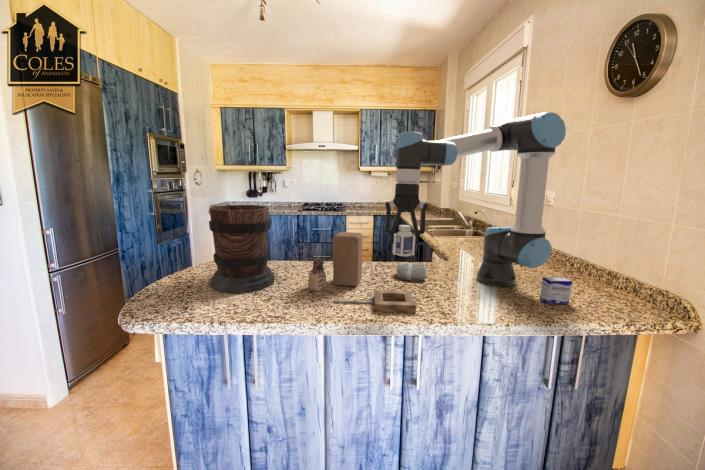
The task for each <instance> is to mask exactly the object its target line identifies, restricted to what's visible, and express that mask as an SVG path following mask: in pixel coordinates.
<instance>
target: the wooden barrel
mask: <svg viewBox="0 0 705 470" xmlns="http://www.w3.org/2000/svg"><path fill="white" fill-rule="evenodd" d="M209 216H210V220H208V225H209V230H210V232H212V237H213V239H212V240H213V248H214V253H213V255H212V256H213V257H212V258H213V262H214V264H215V265H216V268H217V270H215V271H214V273H213V276H212V277H211V278H210V287H211V288H212V290H213V291H216V292H217V293H218V292H219V293H221V294H223V293H225V294H246V293H253V292H259V291H261V290H265V289H267V288H270V287H271V286H272V285H273V284H274V283H275V272H273V271H272V269H271V268H270V267H269V266H268V261H269V260H270V253H271V252H270V250H269V230H270V229H271V226H272V224H271V222H272V221H271V218H270V207H269V206H267V205H258V204H257V205H255V204H231V205H230V204H229V205H218V206H212V207H209Z"/></svg>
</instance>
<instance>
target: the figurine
mask: <svg viewBox="0 0 705 470" xmlns="http://www.w3.org/2000/svg"><path fill="white" fill-rule="evenodd" d="M312 263H313V264H312V269H311V270H310V272H309V273H308V274H309V275H308V283H307V288H308V290H309V291H311V292H316V293H317V292H324V291H326V290H327V289H328V283H327V275H326V272H325V269H326V268H324V260H322V258H320V257H319V258H318V257H316V258H314V259H313V261H312Z"/></svg>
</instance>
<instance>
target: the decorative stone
mask: <svg viewBox="0 0 705 470" xmlns="http://www.w3.org/2000/svg"><path fill="white" fill-rule="evenodd" d="M396 278H397V279H400V280H404V281H405V280H406V281H413V282H424V281H425V279H426V278H427V269H426V266H425V265H424V264H423V263H408V262H400V261H399V262H398V261H397V262H396Z"/></svg>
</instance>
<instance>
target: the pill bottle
mask: <svg viewBox="0 0 705 470" xmlns="http://www.w3.org/2000/svg"><path fill="white" fill-rule="evenodd" d="M411 230H412V226H411V225H408V224H399V225H398V231H397V232H396V233H395V234H396V235H397V236H396V254H395V255H396V256H399V257H411V256H412V255H411V254H412V239H413V232H411Z"/></svg>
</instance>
